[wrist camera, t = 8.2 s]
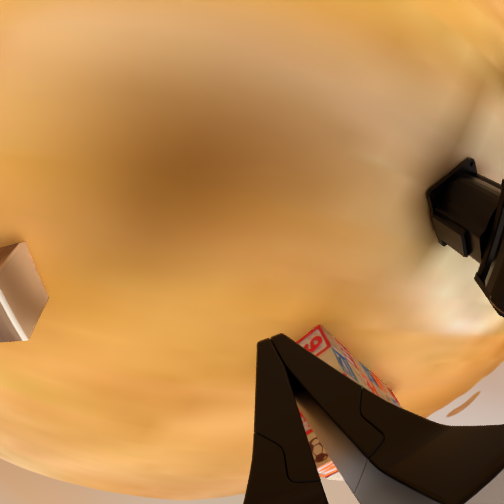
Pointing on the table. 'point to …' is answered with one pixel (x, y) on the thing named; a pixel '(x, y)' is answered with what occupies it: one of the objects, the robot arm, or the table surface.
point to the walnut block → (19, 293)
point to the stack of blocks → (345, 363)
